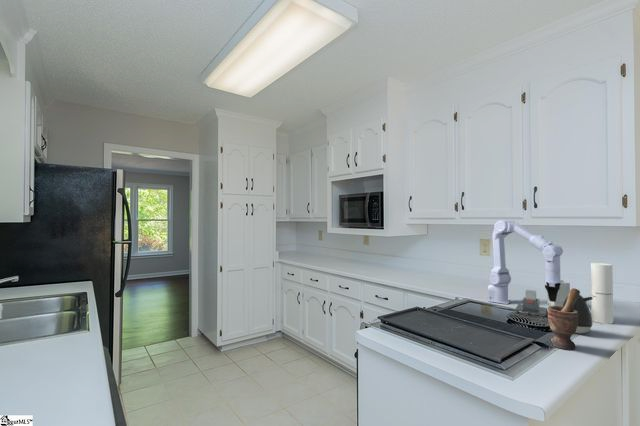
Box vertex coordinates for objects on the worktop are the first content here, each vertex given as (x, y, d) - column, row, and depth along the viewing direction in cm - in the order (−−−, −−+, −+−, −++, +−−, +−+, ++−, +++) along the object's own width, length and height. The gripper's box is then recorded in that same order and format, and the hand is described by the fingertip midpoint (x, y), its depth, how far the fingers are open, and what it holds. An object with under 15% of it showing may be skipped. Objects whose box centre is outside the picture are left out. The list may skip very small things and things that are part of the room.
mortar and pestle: (555, 337, 124) (555, 284, 124) (584, 344, 117) (583, 288, 117) (544, 345, 117) (543, 289, 117) (574, 353, 110) (573, 293, 110)
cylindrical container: (608, 324, 138) (607, 265, 138) (588, 320, 144) (587, 263, 145) (616, 322, 141) (615, 264, 142) (596, 317, 148) (595, 262, 148)
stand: (515, 312, 156) (514, 300, 156) (518, 307, 166) (518, 295, 166) (545, 317, 149) (545, 304, 149) (547, 311, 158) (547, 298, 158)
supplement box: (570, 308, 163) (570, 283, 163) (553, 307, 164) (553, 282, 164) (562, 304, 170) (562, 280, 170) (546, 304, 171) (546, 279, 171)
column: (525, 308, 157) (525, 291, 157) (526, 306, 160) (526, 289, 160) (535, 310, 154) (535, 292, 154) (536, 308, 158) (536, 290, 158)
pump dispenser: (596, 338, 123) (595, 297, 123) (562, 333, 128) (561, 294, 129) (590, 329, 132) (589, 292, 132) (558, 325, 137) (557, 289, 137)
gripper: (563, 273, 144) (563, 304, 144) (563, 269, 155) (564, 297, 155) (543, 271, 148) (543, 301, 148) (545, 267, 160) (546, 295, 160)
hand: (553, 299), depth 152 cm, fingers open, 7 cm apart
